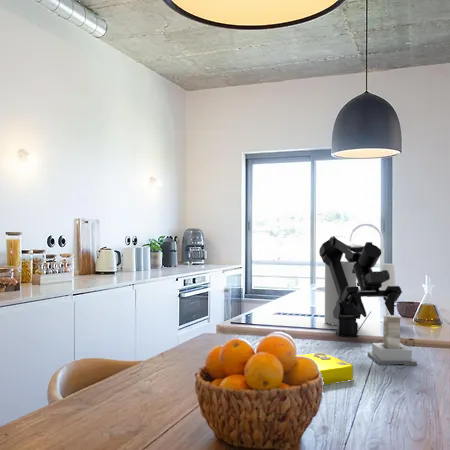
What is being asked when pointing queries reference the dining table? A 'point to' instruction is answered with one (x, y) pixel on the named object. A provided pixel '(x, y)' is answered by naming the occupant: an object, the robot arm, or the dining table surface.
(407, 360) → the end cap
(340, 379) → the element tile
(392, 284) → the champagne flute
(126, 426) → the dining table surface
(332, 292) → the cylinder vase
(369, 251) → the robot arm
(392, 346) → the beige cylinder
